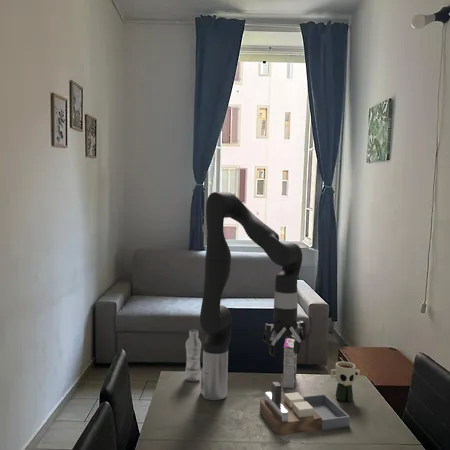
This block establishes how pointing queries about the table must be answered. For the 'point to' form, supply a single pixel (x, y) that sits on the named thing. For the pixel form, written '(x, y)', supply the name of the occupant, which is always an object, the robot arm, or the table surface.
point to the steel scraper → (276, 402)
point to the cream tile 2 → (303, 409)
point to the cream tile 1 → (292, 398)
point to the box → (328, 412)
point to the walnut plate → (290, 420)
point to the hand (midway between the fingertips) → (284, 354)
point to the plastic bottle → (193, 356)
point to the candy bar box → (289, 364)
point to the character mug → (345, 379)
